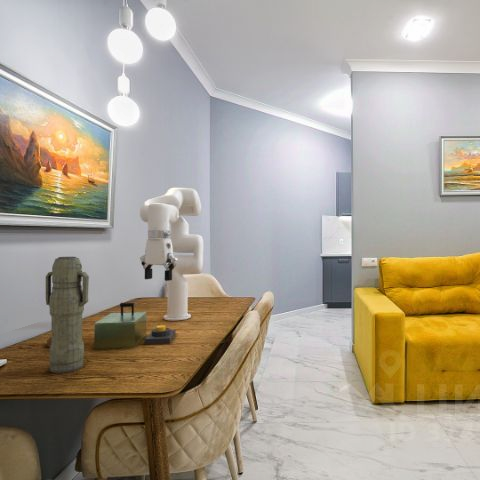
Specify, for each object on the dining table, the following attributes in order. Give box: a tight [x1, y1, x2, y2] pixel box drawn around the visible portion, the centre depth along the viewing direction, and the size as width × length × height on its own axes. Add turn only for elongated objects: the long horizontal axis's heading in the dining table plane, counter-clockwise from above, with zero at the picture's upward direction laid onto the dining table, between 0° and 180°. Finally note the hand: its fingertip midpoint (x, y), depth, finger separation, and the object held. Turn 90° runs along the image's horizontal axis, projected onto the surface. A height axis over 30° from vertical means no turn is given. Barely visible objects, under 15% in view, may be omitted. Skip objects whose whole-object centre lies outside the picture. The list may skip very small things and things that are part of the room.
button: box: [155, 324, 167, 331], centre depth 141 cm, size 4×4×2 cm
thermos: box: [45, 256, 90, 374], centre depth 111 cm, size 9×12×35 cm
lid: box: [93, 301, 148, 326], centre depth 137 cm, size 16×14×5 cm
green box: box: [93, 314, 147, 350], centre depth 137 cm, size 16×14×9 cm
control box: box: [144, 327, 177, 346], centre depth 141 cm, size 12×9×4 cm
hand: (158, 279), depth 135 cm, fingers open, 9 cm apart
